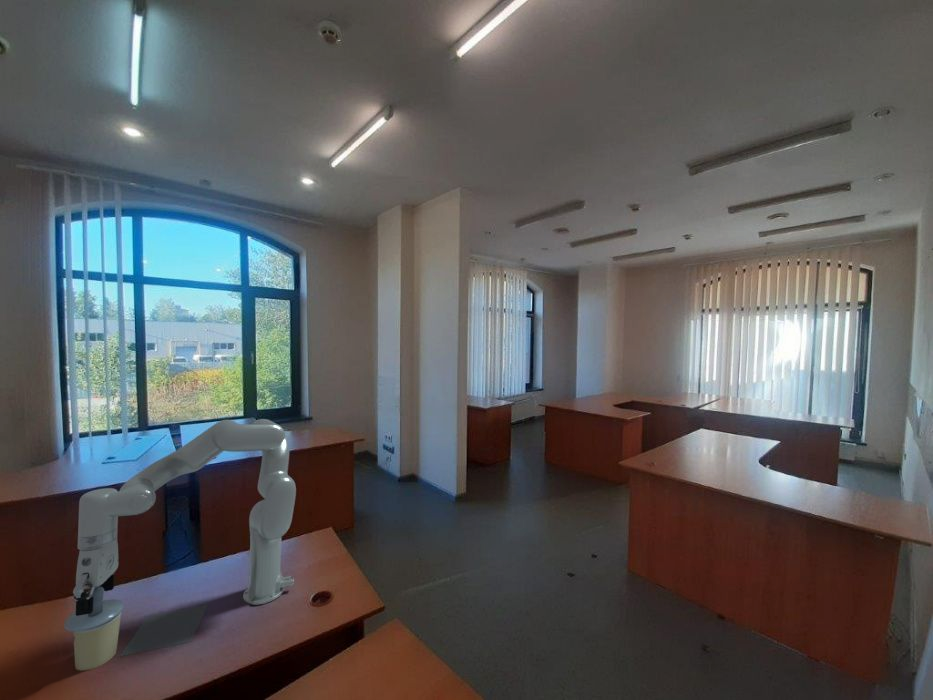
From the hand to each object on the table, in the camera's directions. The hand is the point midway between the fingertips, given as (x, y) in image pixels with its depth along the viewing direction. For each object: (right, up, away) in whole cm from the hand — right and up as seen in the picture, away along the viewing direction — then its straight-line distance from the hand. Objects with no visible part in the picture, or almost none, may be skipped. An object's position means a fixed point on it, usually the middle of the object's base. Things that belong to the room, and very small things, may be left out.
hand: (95, 601), depth 99 cm
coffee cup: (0, -16, 0) cm, 16 cm away
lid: (0, -4, 0) cm, 4 cm away
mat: (+10, -16, +11) cm, 22 cm away
